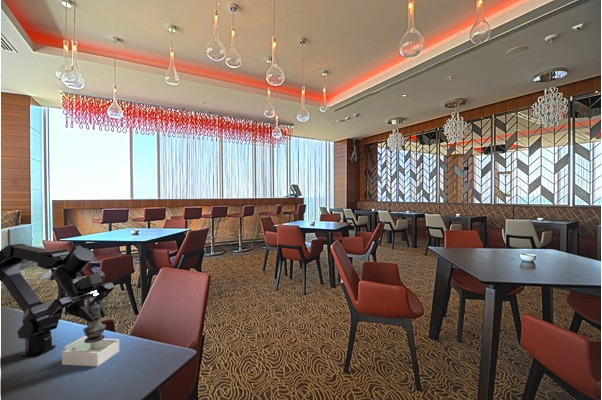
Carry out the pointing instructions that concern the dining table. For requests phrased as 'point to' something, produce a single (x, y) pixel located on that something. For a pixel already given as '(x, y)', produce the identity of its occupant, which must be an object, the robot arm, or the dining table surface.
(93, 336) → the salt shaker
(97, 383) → the dining table surface
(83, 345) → the bar
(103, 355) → the box
